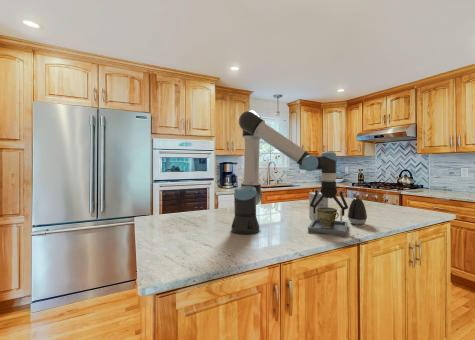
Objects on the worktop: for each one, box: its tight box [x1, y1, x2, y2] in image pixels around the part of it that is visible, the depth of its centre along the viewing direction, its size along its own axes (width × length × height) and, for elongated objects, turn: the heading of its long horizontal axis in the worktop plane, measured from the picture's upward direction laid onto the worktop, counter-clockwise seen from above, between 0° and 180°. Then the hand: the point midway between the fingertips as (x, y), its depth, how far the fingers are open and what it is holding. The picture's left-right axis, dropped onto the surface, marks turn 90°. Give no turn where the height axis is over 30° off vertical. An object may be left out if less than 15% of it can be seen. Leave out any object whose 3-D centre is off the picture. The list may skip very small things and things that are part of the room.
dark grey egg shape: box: [347, 197, 368, 226], centre depth 142 cm, size 10×10×15 cm
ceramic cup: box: [318, 206, 340, 229], centre depth 131 cm, size 13×10×10 cm
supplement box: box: [308, 191, 329, 221], centre depth 153 cm, size 10×9×17 cm
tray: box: [307, 219, 348, 237], centre depth 132 cm, size 18×21×2 cm
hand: (328, 220), depth 132 cm, fingers open, 12 cm apart
